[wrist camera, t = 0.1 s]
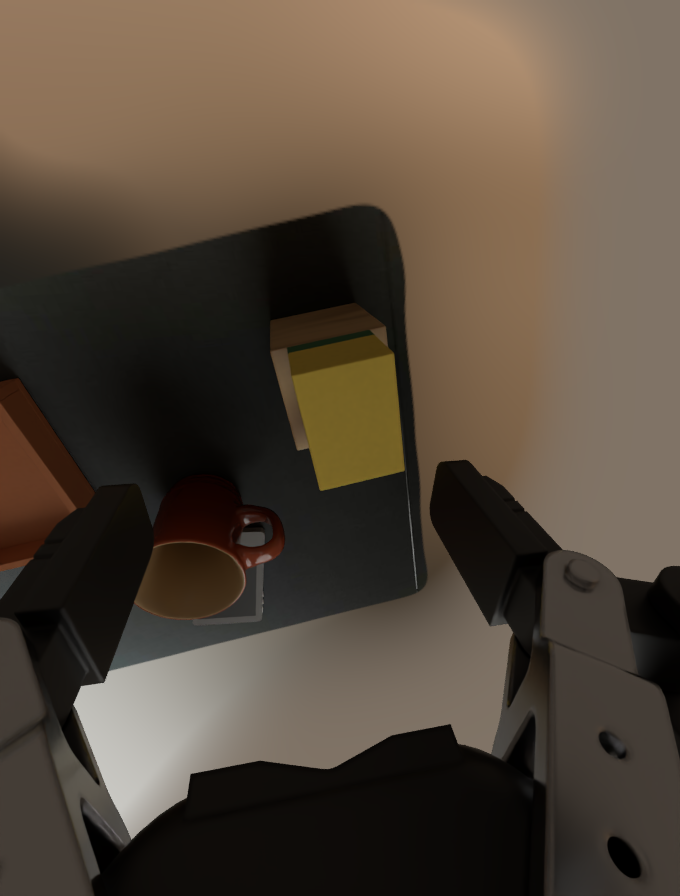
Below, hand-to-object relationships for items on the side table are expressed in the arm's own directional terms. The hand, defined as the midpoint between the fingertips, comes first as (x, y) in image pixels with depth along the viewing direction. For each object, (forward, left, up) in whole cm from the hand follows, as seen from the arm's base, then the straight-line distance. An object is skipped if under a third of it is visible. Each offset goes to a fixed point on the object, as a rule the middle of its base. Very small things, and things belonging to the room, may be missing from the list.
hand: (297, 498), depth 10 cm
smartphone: (+28, -8, -22) cm, 37 cm away
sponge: (+2, +3, -13) cm, 14 cm away
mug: (+16, -7, -23) cm, 29 cm away
